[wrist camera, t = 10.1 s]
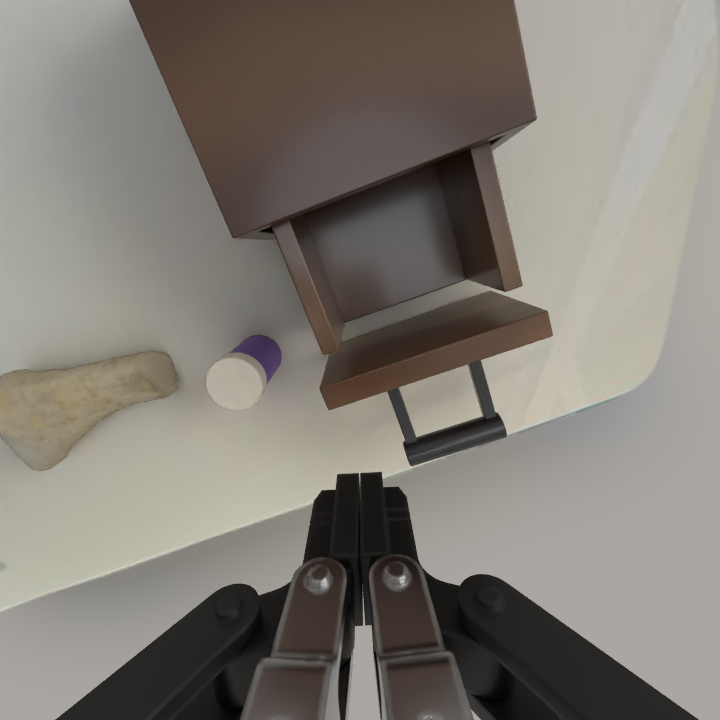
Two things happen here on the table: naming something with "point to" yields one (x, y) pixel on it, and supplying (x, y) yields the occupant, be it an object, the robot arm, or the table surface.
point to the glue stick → (243, 373)
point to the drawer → (413, 289)
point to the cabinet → (333, 93)
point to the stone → (75, 402)
